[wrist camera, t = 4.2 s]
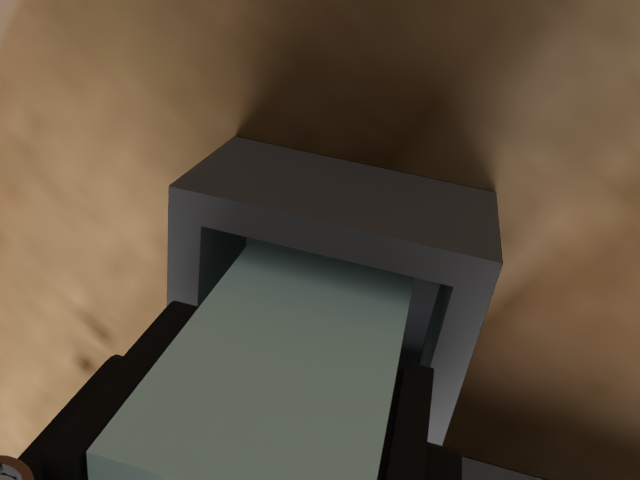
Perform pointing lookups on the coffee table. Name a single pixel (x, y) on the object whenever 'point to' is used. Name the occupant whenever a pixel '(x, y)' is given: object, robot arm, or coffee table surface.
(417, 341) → the holster
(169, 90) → the coffee table surface
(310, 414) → the plug
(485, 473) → the port panel
